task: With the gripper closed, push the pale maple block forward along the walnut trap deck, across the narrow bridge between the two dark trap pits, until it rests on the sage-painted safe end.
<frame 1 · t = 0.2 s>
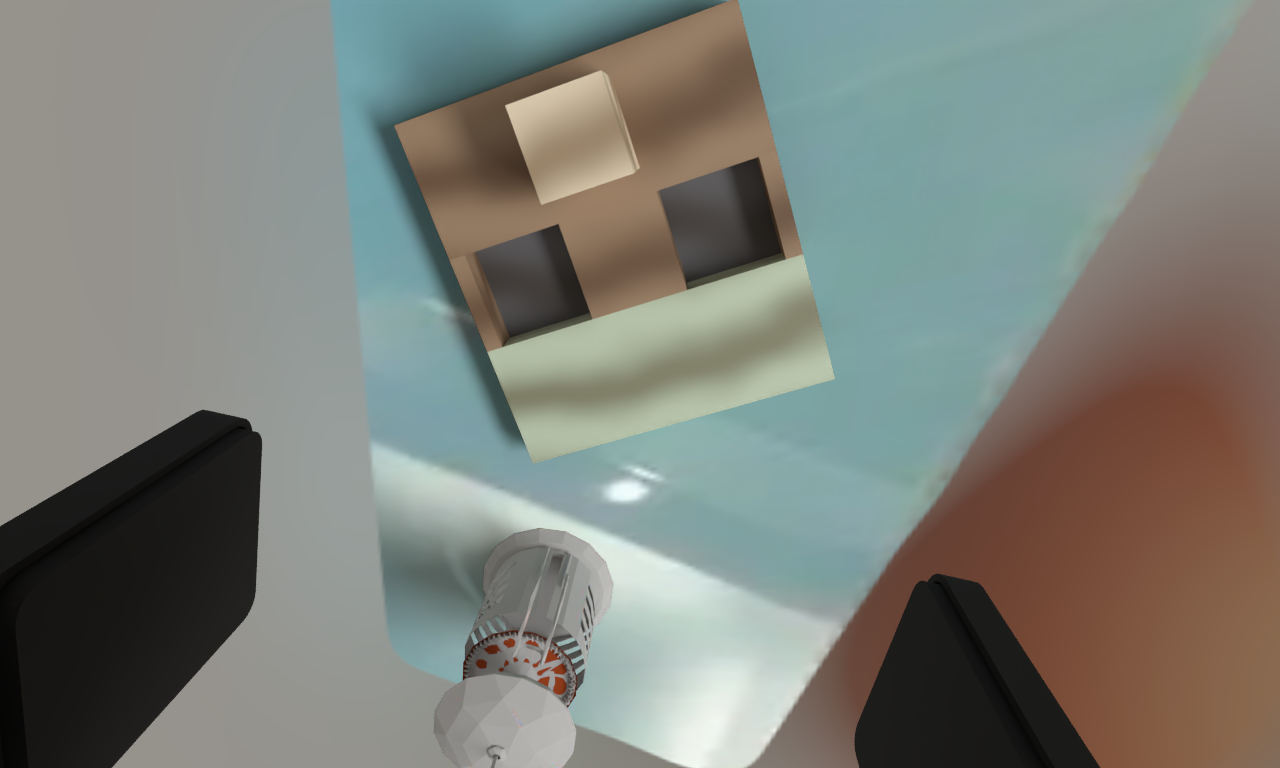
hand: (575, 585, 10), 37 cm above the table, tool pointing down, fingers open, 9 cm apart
trap deck: (626, 250, 45), on the table
french press: (551, 574, 54), on the table
maple block: (583, 138, 41), point 2 cm above the table, touching trap deck
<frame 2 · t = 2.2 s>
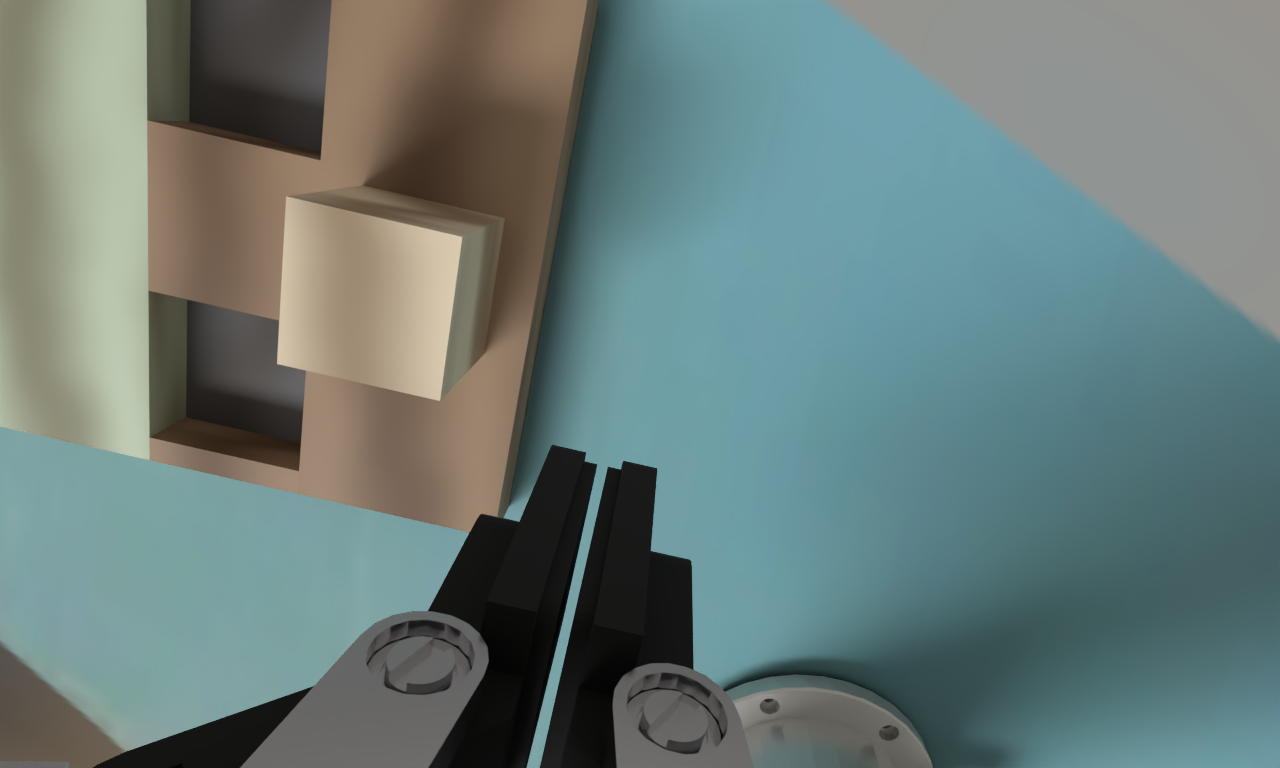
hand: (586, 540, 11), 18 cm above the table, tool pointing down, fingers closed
trap deck: (269, 220, 28), on the table
maple block: (425, 272, 26), point 2 cm above the table, touching trap deck
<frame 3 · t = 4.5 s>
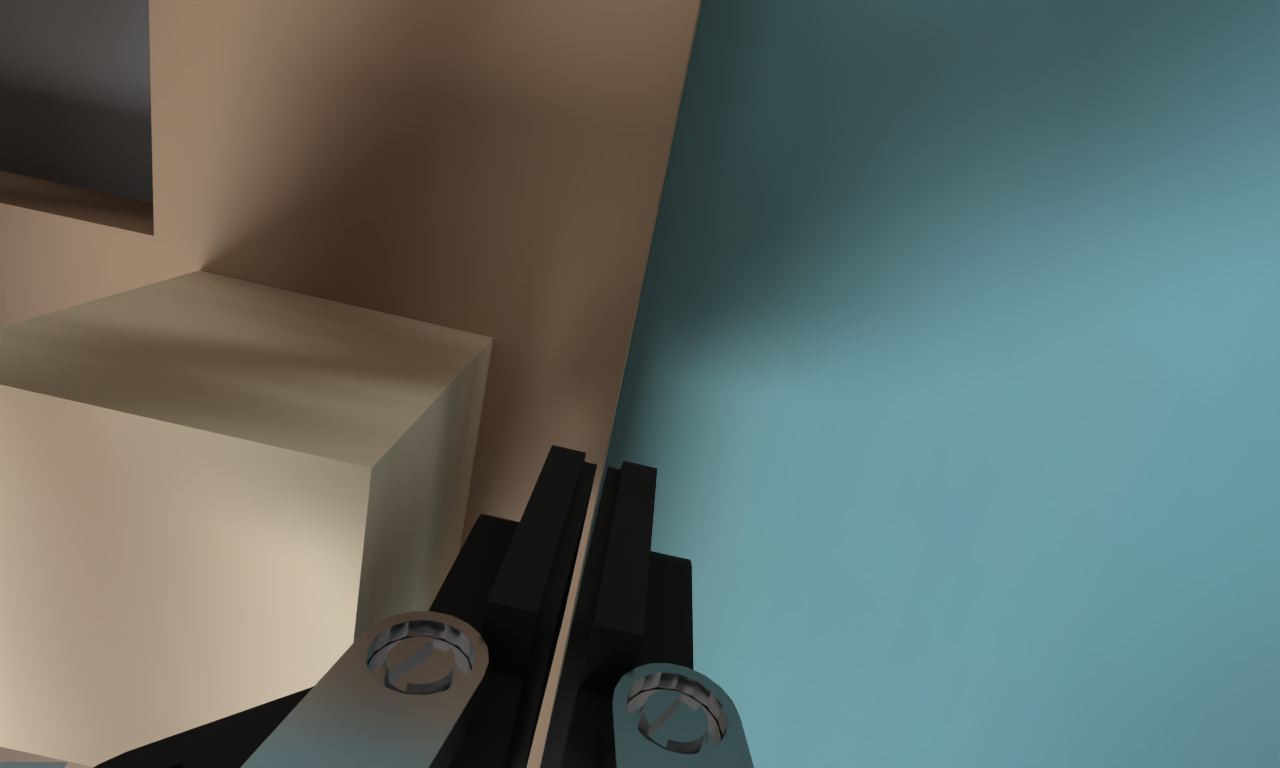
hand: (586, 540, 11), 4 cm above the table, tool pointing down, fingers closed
trap deck: (98, 330, 15), on the table
maple block: (335, 437, 13), point 3 cm above the table, touching gripper
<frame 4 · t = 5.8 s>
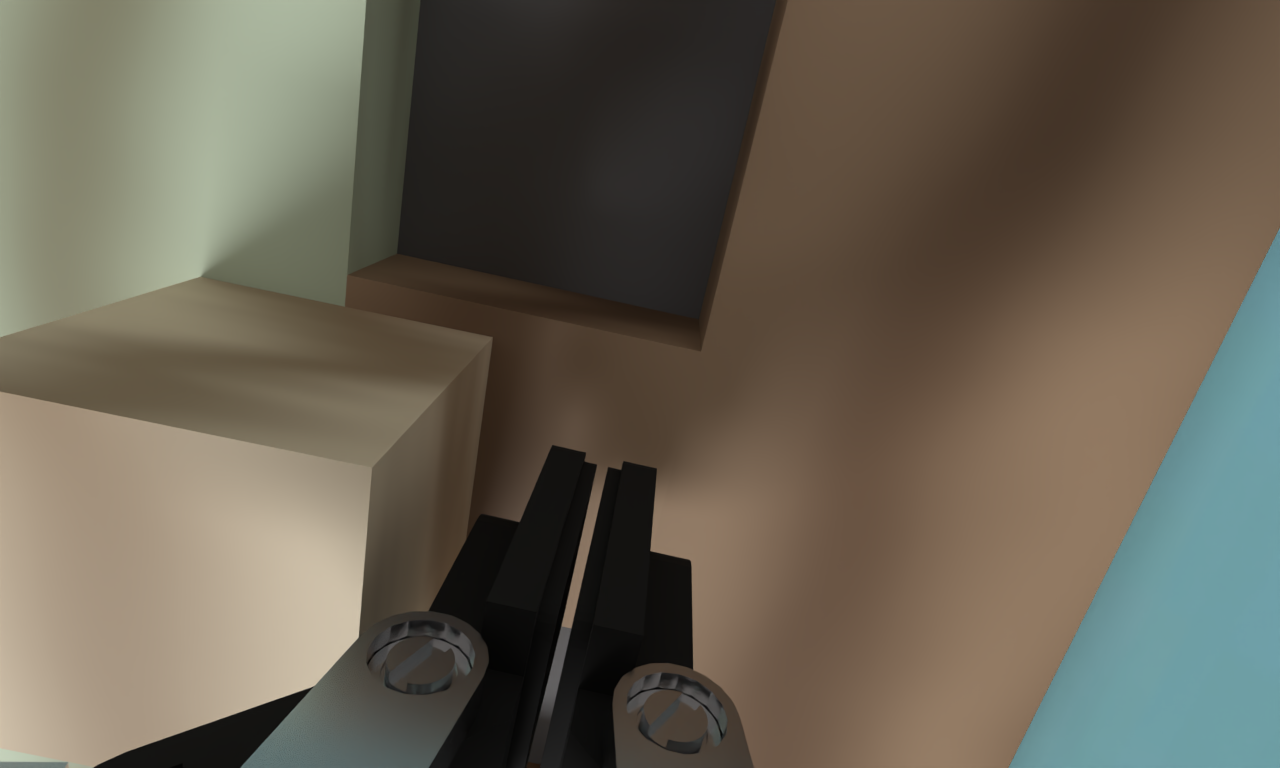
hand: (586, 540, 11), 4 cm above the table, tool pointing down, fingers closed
trap deck: (528, 420, 15), on the table
maple block: (338, 440, 13), point 3 cm above the table, touching gripper
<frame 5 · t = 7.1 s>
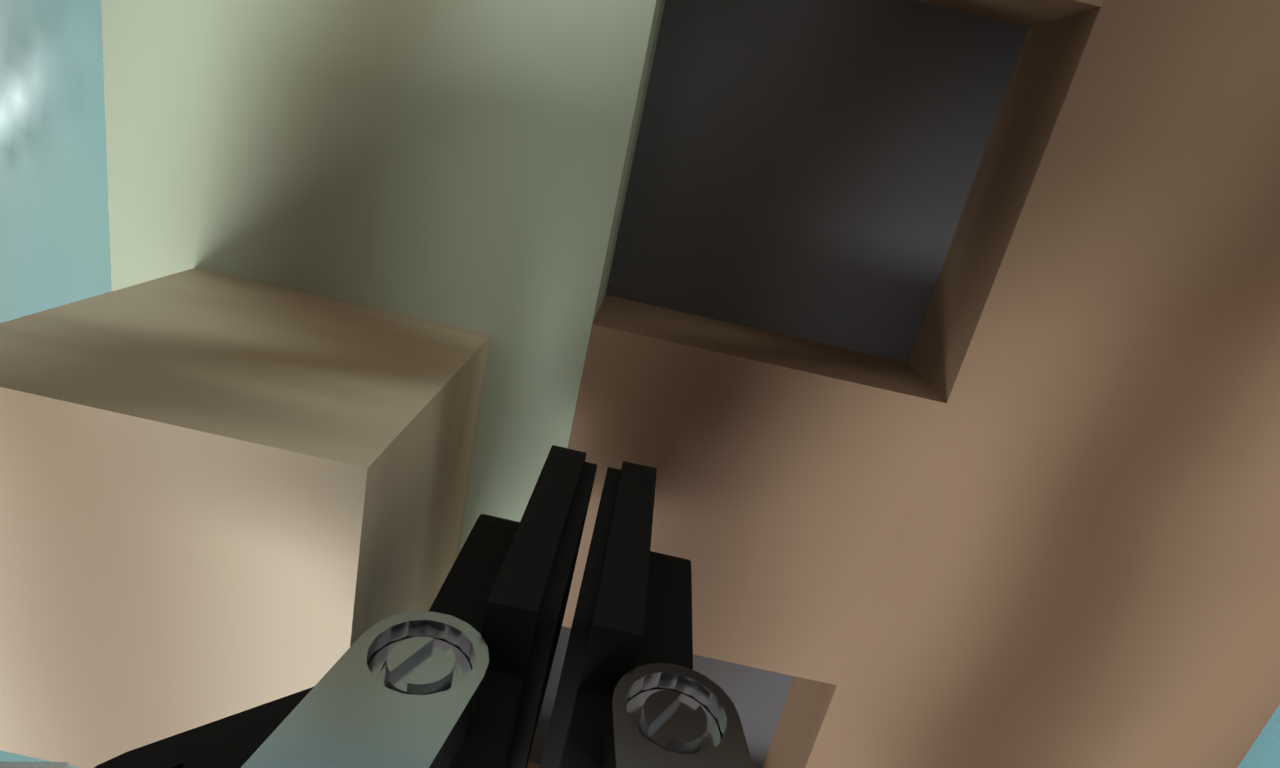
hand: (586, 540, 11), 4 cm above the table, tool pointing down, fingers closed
trap deck: (718, 459, 15), on the table
maple block: (332, 436, 13), point 2 cm above the table, touching gripper, trap deck
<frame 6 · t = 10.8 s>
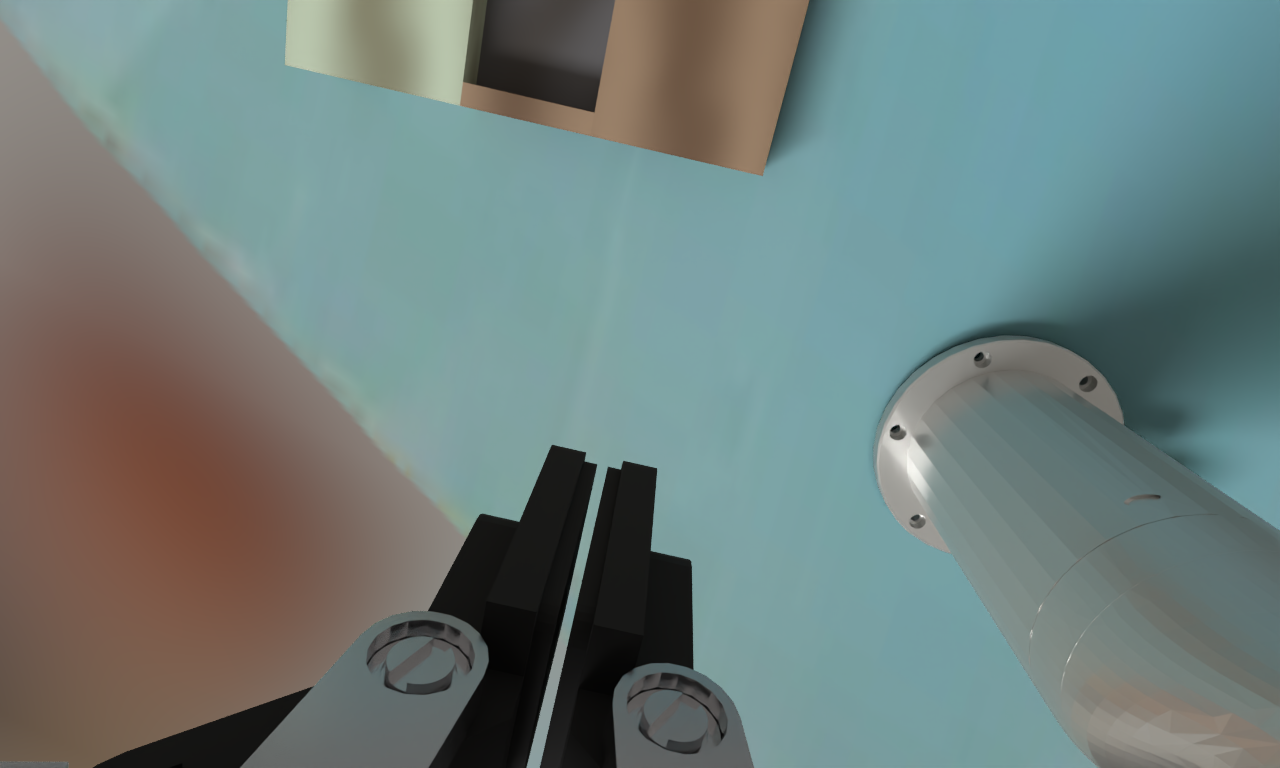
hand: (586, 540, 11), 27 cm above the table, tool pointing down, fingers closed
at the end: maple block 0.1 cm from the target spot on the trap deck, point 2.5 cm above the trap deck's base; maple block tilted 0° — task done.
